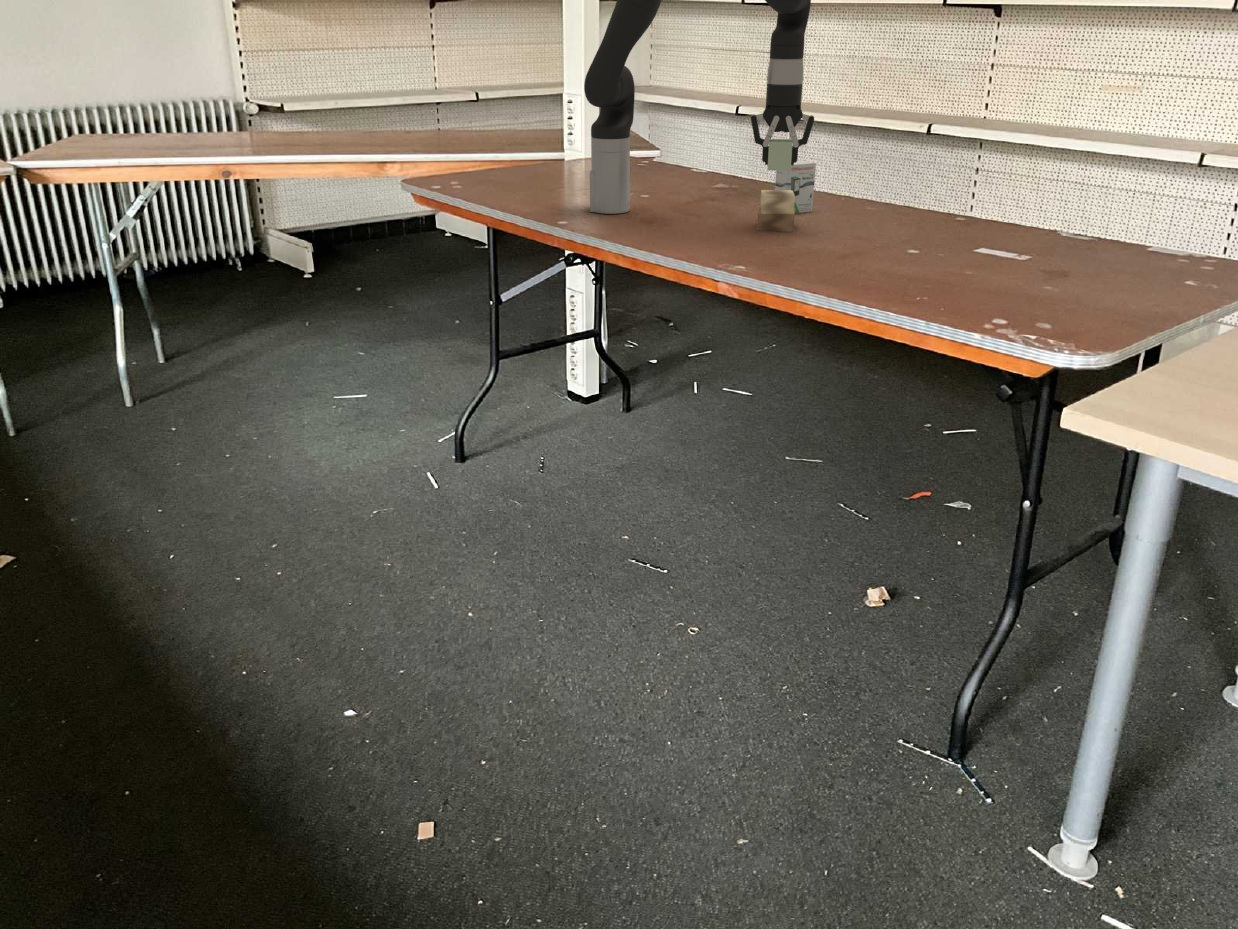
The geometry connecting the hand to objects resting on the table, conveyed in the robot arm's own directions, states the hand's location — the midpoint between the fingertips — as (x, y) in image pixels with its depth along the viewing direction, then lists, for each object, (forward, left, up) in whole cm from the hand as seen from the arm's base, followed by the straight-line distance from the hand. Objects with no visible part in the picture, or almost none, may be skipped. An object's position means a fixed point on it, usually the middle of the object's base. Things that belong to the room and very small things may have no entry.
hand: (779, 164), depth 214 cm
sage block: (0, 0, -1) cm, 1 cm away
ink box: (+4, +20, -14) cm, 25 cm away
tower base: (0, 0, -14) cm, 14 cm away
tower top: (0, 0, -10) cm, 10 cm away
